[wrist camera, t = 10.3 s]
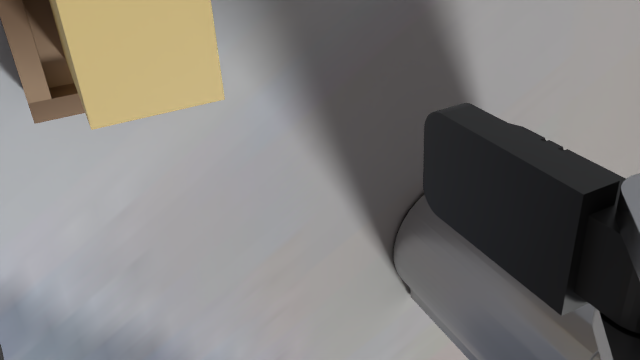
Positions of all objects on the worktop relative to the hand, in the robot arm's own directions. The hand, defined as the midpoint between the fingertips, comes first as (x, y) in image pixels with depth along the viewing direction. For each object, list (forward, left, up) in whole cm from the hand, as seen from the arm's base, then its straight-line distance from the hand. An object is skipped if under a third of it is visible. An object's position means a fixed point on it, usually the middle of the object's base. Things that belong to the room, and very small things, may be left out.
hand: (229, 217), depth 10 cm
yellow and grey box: (0, 0, -16) cm, 15 cm away
